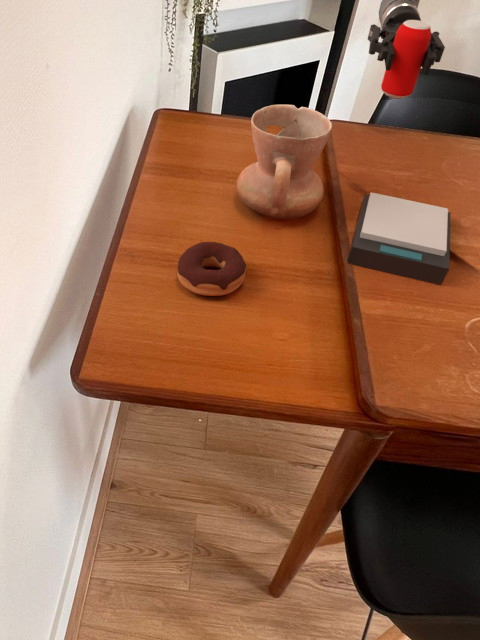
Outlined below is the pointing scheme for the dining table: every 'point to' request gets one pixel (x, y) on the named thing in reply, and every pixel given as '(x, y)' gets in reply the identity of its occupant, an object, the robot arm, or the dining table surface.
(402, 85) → the beverage can
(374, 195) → the kitchen scale
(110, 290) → the dining table surface
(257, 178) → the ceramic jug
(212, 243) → the donut
